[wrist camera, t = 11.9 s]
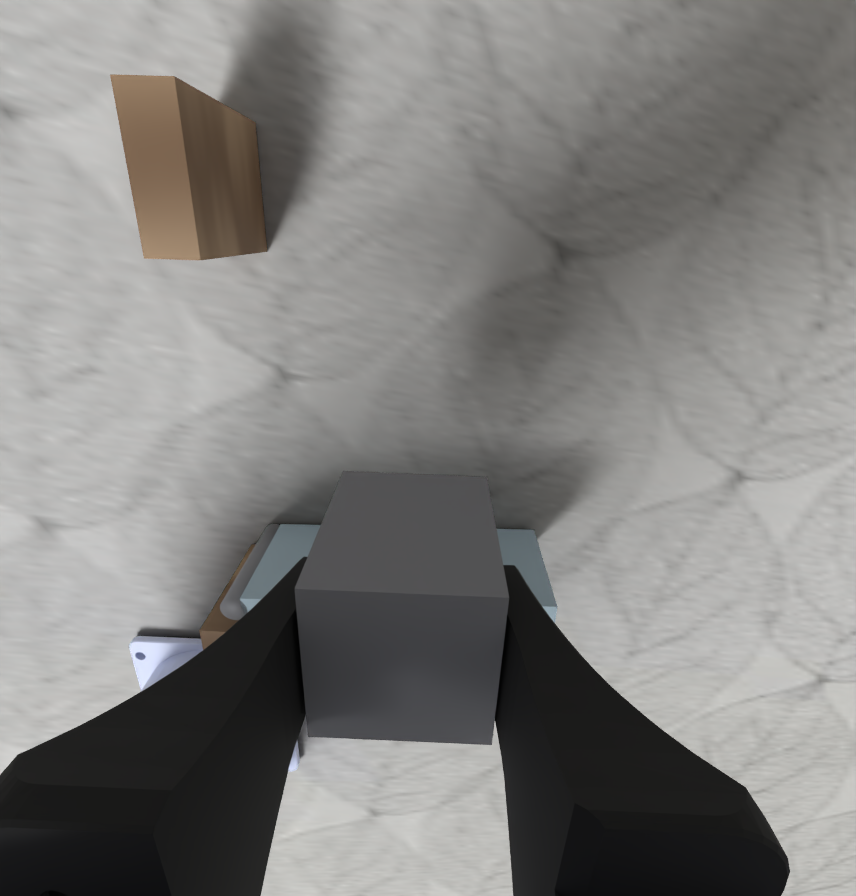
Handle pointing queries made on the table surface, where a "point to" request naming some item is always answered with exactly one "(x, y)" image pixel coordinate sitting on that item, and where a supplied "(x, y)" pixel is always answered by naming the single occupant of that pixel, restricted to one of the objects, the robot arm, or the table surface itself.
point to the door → (295, 541)
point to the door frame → (191, 191)
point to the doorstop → (403, 611)
